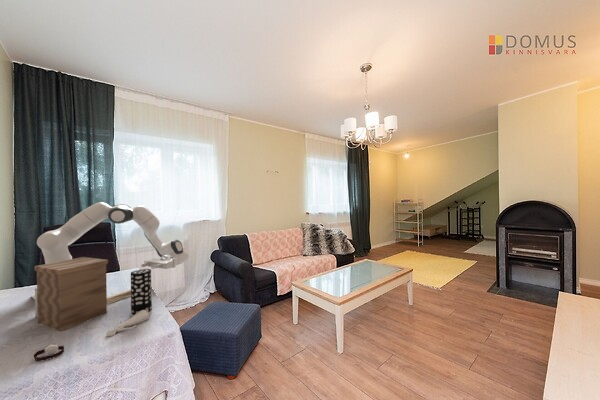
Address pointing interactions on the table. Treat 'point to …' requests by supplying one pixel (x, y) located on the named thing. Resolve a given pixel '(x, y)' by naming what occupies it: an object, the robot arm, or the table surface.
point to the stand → (71, 292)
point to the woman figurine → (130, 322)
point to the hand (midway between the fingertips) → (146, 266)
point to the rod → (118, 296)
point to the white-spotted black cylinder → (141, 291)
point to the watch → (49, 350)
